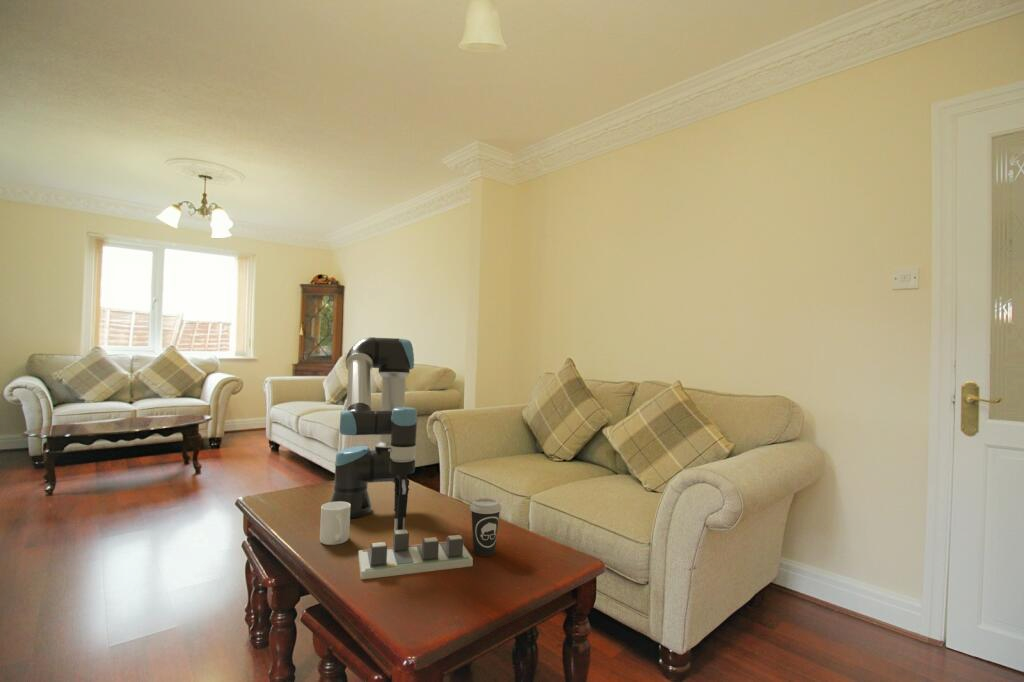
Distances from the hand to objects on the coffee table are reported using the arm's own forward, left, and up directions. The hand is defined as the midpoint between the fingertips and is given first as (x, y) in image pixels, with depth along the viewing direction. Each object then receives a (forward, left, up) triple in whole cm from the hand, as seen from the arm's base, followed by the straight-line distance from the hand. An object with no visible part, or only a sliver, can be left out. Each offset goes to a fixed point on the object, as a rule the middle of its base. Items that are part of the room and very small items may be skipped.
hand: (398, 538), depth 142 cm
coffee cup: (+7, +25, -4) cm, 26 cm away
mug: (-12, -17, -4) cm, 21 cm away
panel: (+9, +4, -4) cm, 10 cm away
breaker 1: (+12, -7, -1) cm, 14 cm away
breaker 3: (+12, +7, -1) cm, 14 cm away
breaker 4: (+12, +14, -1) cm, 19 cm away
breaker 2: (+4, 0, -1) cm, 5 cm away
